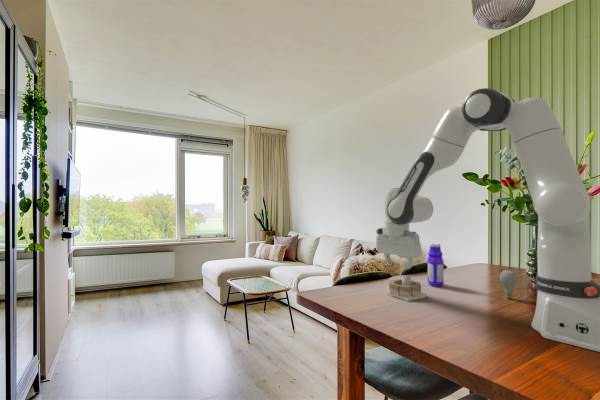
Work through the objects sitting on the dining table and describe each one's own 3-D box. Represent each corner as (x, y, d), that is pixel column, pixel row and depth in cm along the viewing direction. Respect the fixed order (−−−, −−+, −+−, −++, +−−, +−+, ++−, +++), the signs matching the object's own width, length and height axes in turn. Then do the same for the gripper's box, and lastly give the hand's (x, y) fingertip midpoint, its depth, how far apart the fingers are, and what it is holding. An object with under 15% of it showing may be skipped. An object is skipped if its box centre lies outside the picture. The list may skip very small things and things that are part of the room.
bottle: (446, 287, 132) (445, 244, 132) (432, 287, 132) (431, 244, 132) (439, 283, 139) (438, 242, 140) (425, 283, 140) (425, 242, 140)
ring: (427, 293, 119) (427, 284, 119) (405, 298, 114) (405, 288, 114) (404, 287, 129) (404, 278, 129) (383, 291, 124) (383, 281, 124)
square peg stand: (427, 296, 119) (426, 277, 119) (407, 301, 114) (407, 281, 114) (406, 290, 128) (405, 272, 128) (386, 294, 123) (386, 275, 123)
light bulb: (500, 299, 115) (500, 271, 115) (499, 295, 120) (498, 268, 120) (519, 301, 112) (518, 272, 112) (517, 297, 117) (516, 269, 117)
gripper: (424, 231, 118) (426, 269, 117) (384, 228, 136) (386, 262, 135) (412, 232, 115) (413, 271, 114) (373, 229, 133) (374, 264, 132)
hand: (398, 266), depth 125 cm, fingers open, 8 cm apart
